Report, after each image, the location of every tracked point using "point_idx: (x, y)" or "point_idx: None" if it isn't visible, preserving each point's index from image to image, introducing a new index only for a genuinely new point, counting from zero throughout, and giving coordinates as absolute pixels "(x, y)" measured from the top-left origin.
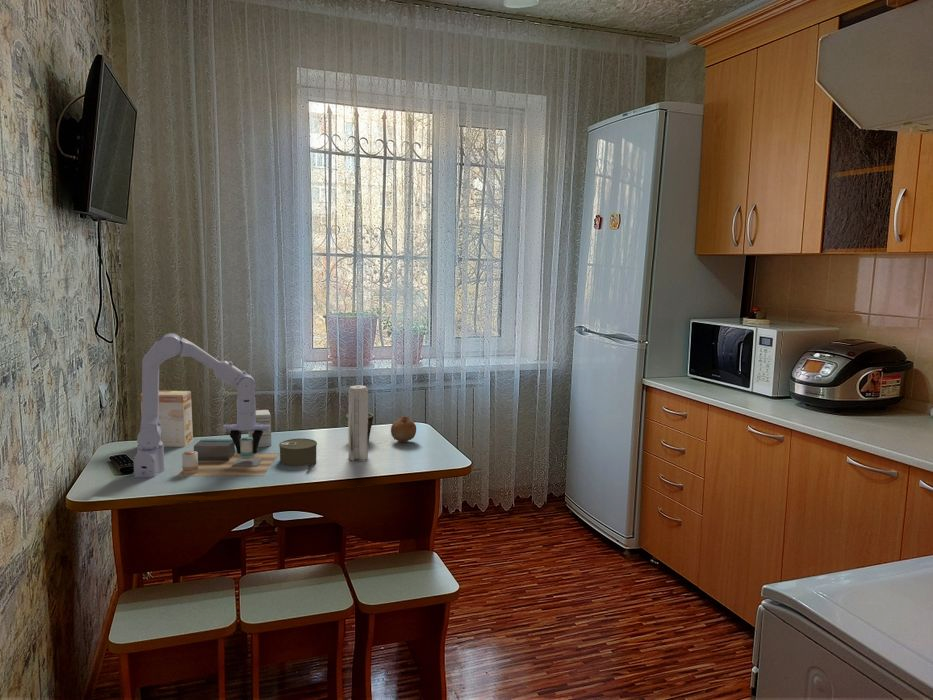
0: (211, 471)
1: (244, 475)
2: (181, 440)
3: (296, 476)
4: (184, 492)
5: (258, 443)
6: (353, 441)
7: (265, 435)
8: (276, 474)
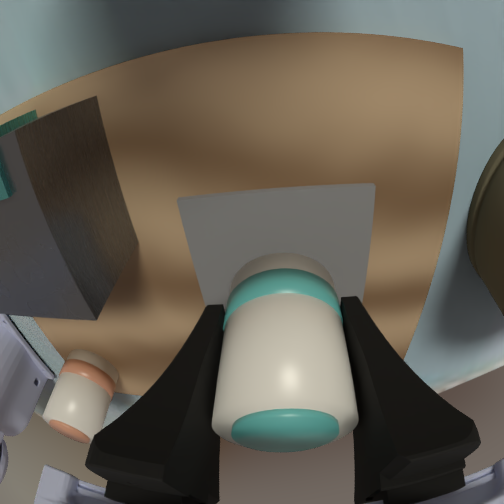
0: (162, 371)
1: None
2: None
3: (490, 343)
4: None
5: (389, 351)
6: None
7: None
8: (435, 342)
